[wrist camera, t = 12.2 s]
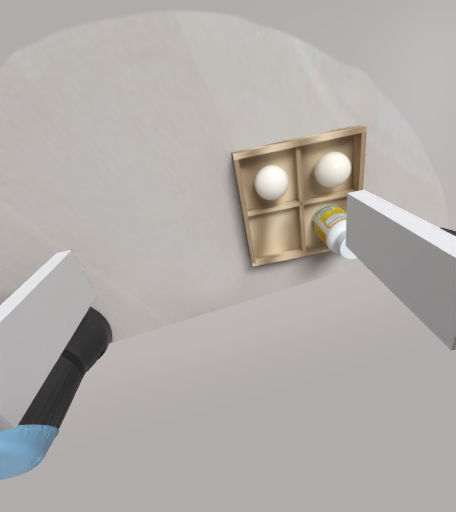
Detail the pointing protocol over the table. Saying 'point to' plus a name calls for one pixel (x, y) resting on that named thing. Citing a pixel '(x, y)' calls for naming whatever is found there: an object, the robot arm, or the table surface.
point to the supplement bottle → (332, 229)
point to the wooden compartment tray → (294, 192)
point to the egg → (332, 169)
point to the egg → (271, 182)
